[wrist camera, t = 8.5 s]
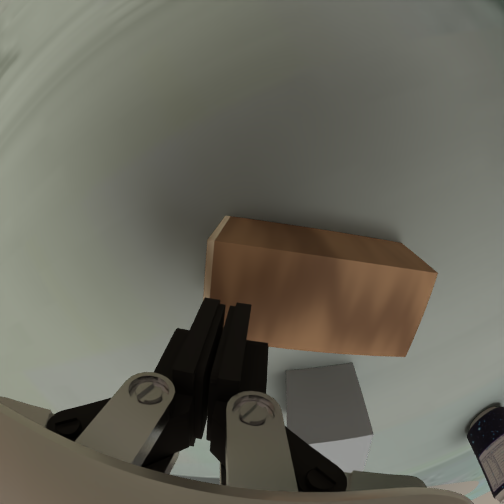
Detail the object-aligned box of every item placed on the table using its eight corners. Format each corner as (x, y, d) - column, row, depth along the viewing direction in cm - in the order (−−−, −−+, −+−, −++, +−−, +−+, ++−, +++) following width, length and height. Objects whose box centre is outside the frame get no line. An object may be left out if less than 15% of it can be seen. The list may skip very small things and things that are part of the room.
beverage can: (459, 440, 24) (489, 512, 13) (471, 413, 22) (510, 492, 11) (494, 423, 23) (527, 488, 12) (507, 395, 22) (549, 464, 10)
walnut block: (207, 240, 13) (437, 273, 13) (225, 215, 18) (401, 242, 17) (201, 336, 14) (405, 356, 14) (218, 292, 19) (380, 312, 19)
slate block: (285, 370, 21) (287, 445, 14) (352, 362, 20) (373, 434, 14) (289, 412, 22) (291, 481, 16) (348, 405, 22) (362, 472, 15)
